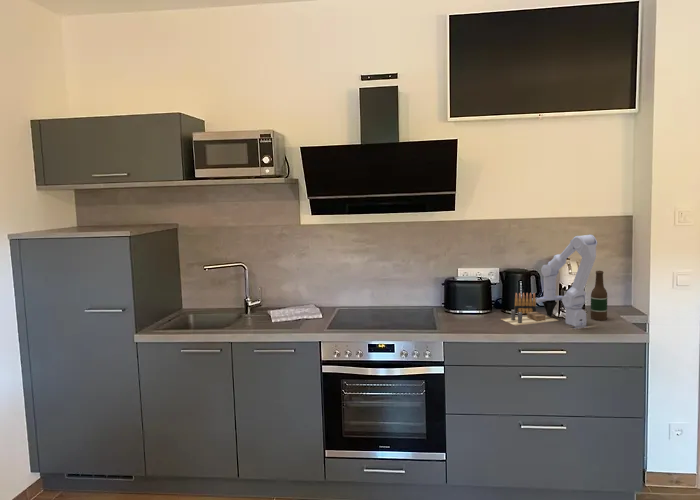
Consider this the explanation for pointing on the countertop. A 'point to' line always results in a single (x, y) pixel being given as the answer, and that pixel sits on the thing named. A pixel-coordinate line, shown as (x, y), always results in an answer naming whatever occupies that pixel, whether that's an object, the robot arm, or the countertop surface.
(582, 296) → the robot arm
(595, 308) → the beer bottle
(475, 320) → the countertop surface
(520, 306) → the ammunition clip
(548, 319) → the bench board
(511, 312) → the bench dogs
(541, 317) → the tan cardboard box
